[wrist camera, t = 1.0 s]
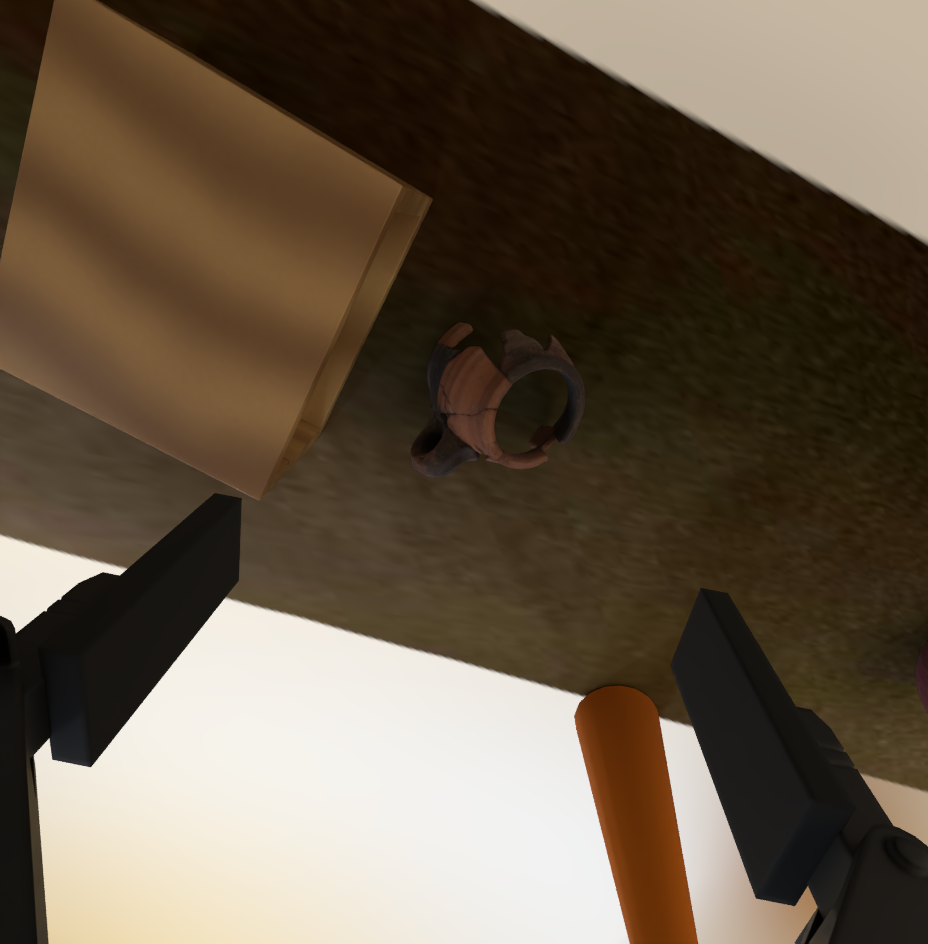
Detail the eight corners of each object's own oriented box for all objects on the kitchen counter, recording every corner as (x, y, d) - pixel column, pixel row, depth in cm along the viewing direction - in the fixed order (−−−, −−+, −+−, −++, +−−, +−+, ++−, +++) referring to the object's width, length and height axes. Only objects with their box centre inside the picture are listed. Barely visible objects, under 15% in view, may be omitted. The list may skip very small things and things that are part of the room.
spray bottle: (533, 677, 49) (552, 1107, 25) (663, 686, 49) (812, 1137, 24) (528, 740, 52) (542, 1184, 28) (652, 749, 51) (776, 1212, 27)
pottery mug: (479, 276, 38) (546, 308, 32) (553, 364, 44) (623, 406, 38) (357, 414, 39) (399, 472, 33) (446, 482, 45) (496, 542, 39)
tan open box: (193, 54, 34) (57, -22, 24) (433, 198, 36) (402, 185, 26) (111, 327, 41) (-21, 358, 31) (319, 437, 43) (259, 501, 33)
